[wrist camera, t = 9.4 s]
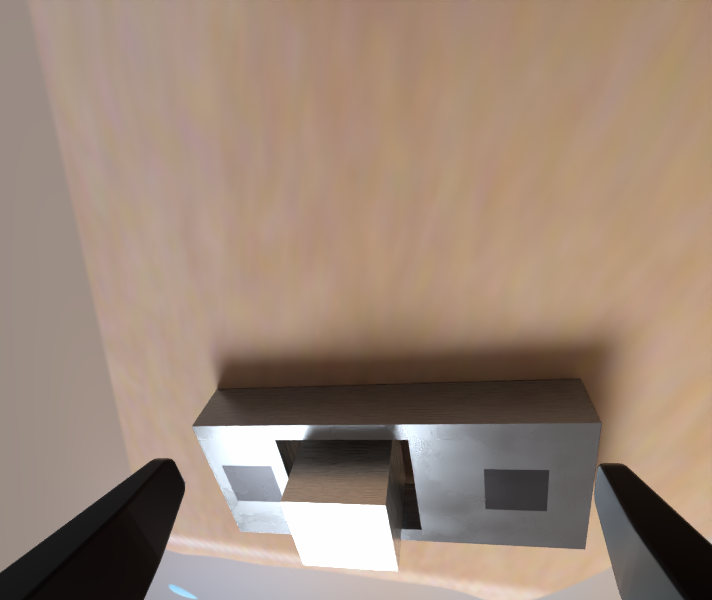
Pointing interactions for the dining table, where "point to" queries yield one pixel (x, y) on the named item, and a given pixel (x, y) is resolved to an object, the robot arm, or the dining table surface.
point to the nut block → (347, 503)
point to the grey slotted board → (423, 454)
